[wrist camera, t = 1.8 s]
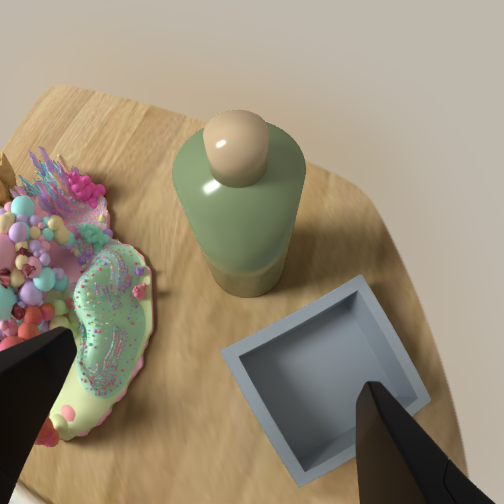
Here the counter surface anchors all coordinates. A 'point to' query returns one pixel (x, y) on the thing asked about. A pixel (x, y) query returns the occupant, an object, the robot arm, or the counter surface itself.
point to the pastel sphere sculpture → (72, 289)
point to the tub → (322, 376)
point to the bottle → (241, 198)
